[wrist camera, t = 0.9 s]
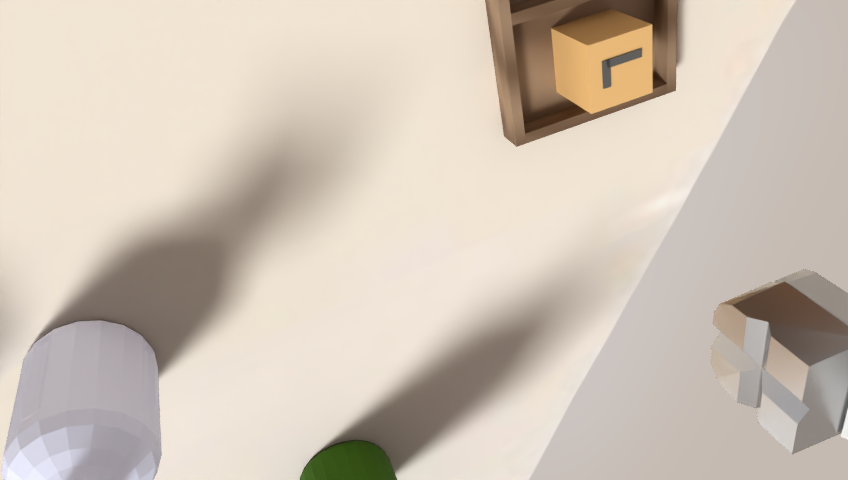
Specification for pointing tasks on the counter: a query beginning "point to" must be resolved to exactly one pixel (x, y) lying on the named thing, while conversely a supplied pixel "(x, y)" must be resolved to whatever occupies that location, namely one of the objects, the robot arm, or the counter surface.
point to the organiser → (534, 62)
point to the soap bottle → (86, 407)
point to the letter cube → (603, 60)
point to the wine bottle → (350, 463)
